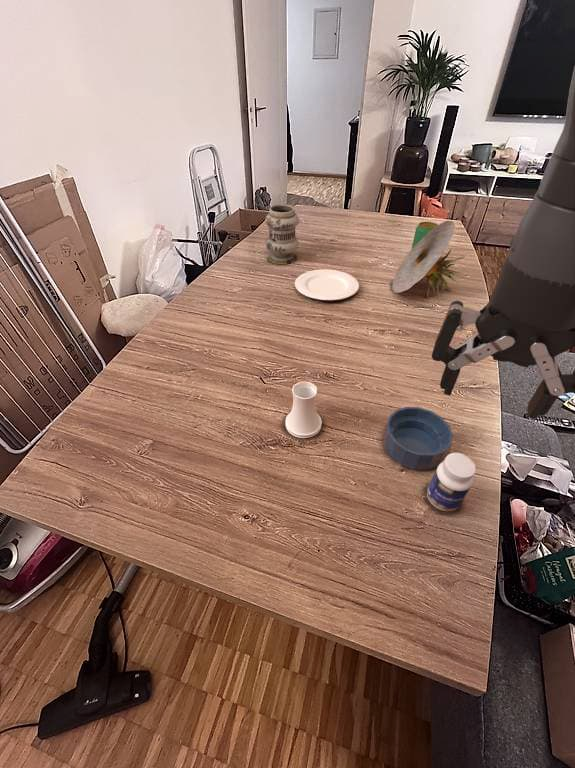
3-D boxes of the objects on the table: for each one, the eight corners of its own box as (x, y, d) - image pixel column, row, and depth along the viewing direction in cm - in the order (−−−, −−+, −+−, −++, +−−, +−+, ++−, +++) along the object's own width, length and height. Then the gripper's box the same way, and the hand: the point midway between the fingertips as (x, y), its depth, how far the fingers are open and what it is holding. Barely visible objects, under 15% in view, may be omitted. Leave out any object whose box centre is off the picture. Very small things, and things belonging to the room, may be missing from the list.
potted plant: (420, 333, 116) (497, 279, 102) (383, 293, 111) (459, 231, 98) (415, 301, 136) (479, 253, 122) (383, 266, 131) (446, 212, 118)
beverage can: (428, 253, 143) (436, 220, 135) (434, 262, 137) (443, 229, 129) (407, 253, 143) (414, 221, 135) (412, 262, 137) (420, 229, 129)
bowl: (456, 447, 74) (464, 430, 71) (423, 483, 68) (430, 466, 65) (405, 414, 81) (410, 398, 77) (370, 444, 75) (374, 428, 71)
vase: (312, 443, 75) (314, 408, 68) (279, 430, 78) (278, 395, 71) (326, 418, 80) (330, 383, 73) (295, 407, 83) (295, 372, 76)
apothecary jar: (280, 268, 133) (279, 216, 121) (259, 257, 140) (256, 207, 128) (305, 259, 139) (306, 208, 127) (284, 249, 146) (284, 200, 134)
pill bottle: (426, 508, 64) (442, 475, 58) (425, 480, 69) (440, 446, 62) (461, 516, 63) (481, 483, 57) (458, 487, 68) (477, 453, 61)
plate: (281, 289, 122) (281, 284, 121) (321, 268, 133) (321, 263, 132) (332, 312, 112) (333, 306, 110) (371, 287, 123) (371, 282, 122)
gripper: (462, 262, 30) (416, 404, 41) (681, 298, 26) (564, 447, 37) (470, 231, 35) (427, 365, 46) (654, 256, 31) (558, 398, 42)
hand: (488, 401), depth 41 cm, fingers open, 8 cm apart
